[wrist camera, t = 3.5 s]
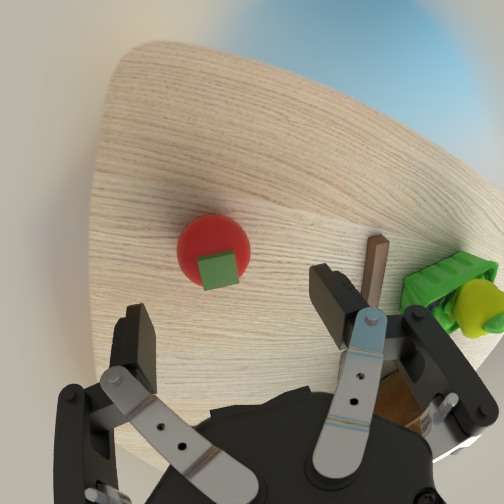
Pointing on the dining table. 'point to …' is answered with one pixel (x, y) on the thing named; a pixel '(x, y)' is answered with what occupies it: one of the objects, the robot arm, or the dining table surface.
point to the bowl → (398, 402)
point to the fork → (373, 274)
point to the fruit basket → (459, 294)
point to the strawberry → (213, 251)
